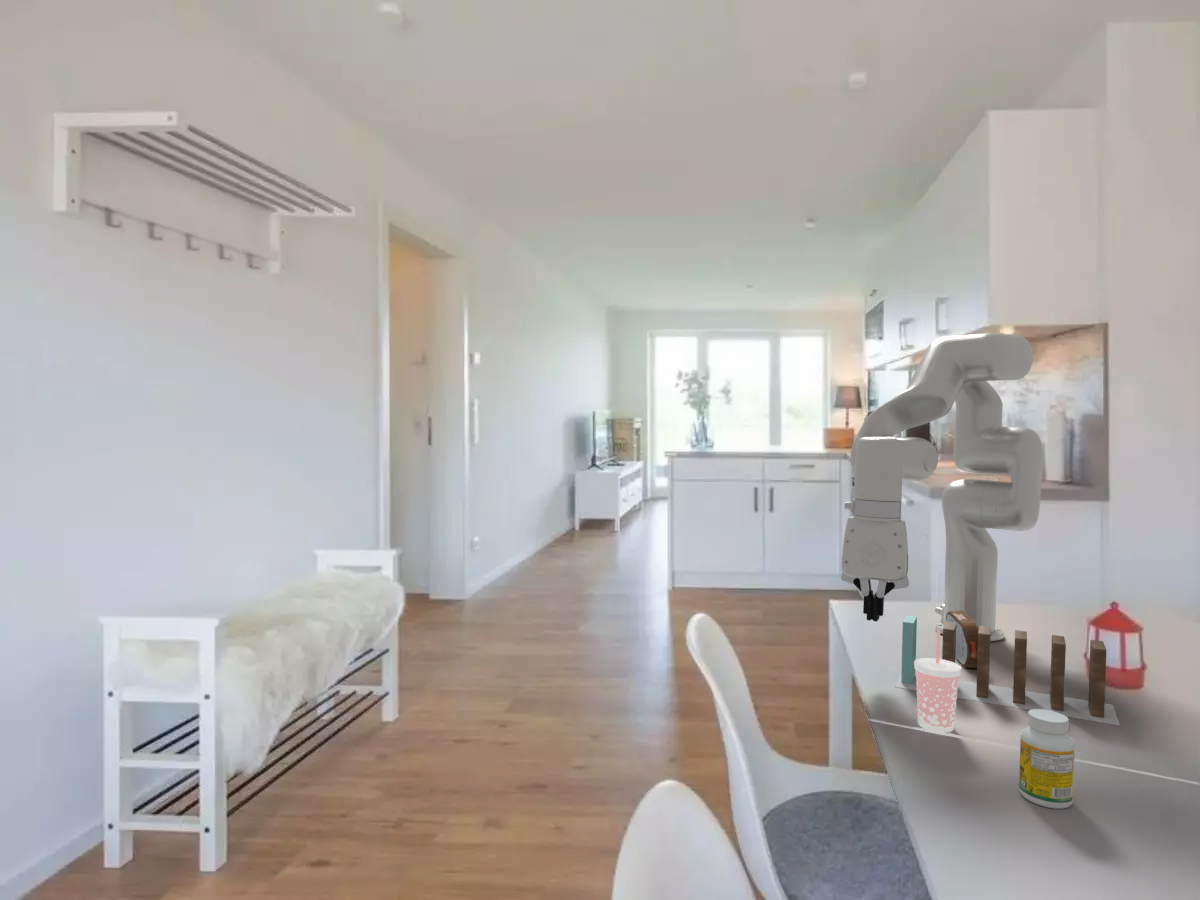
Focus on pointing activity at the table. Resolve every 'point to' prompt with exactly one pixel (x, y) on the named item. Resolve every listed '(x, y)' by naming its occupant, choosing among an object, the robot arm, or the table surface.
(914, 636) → the domino
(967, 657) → the tin
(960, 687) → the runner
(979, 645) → the domino
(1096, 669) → the domino
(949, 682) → the beverage cup
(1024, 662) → the domino
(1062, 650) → the domino
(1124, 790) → the table surface
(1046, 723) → the supplement bottle
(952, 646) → the domino
